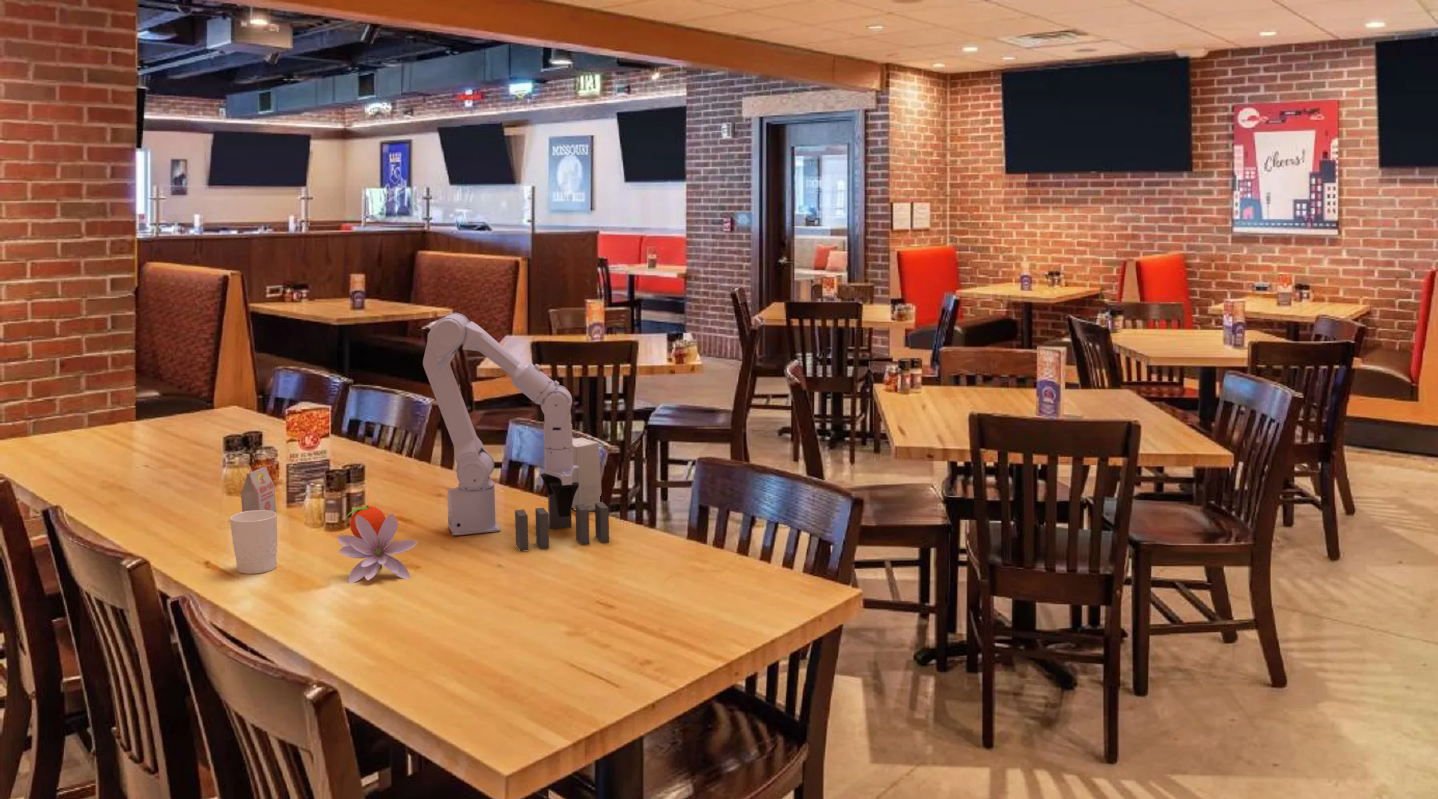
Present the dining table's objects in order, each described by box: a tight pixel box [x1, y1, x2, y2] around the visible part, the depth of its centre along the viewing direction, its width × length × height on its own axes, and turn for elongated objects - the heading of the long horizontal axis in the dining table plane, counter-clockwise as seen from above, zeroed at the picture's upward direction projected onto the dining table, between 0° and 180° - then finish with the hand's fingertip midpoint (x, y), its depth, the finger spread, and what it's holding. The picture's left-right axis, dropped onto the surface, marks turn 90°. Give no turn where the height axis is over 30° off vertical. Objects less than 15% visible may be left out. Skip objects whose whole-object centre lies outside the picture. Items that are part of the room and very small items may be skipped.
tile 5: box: [594, 501, 610, 544], centre depth 232 cm, size 2×4×7 cm, turn 20°
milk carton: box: [240, 466, 277, 513], centre depth 249 cm, size 4×7×10 cm, turn 170°
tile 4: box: [575, 504, 590, 546], centre depth 231 cm, size 2×4×7 cm, turn 20°
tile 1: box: [514, 509, 530, 552], centre depth 227 cm, size 2×4×7 cm, turn 20°
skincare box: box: [572, 437, 603, 512], centre depth 256 cm, size 8×6×15 cm
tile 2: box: [534, 507, 550, 550], centre depth 228 cm, size 2×4×7 cm, turn 20°
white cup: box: [229, 510, 278, 575], centre depth 214 cm, size 8×8×10 cm
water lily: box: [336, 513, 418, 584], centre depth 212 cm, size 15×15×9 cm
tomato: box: [344, 505, 387, 540], centre depth 231 cm, size 8×7×7 cm
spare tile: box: [547, 494, 573, 530], centre depth 241 cm, size 2×4×7 cm, turn 111°
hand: (560, 511), depth 241 cm, fingers open, 7 cm apart
